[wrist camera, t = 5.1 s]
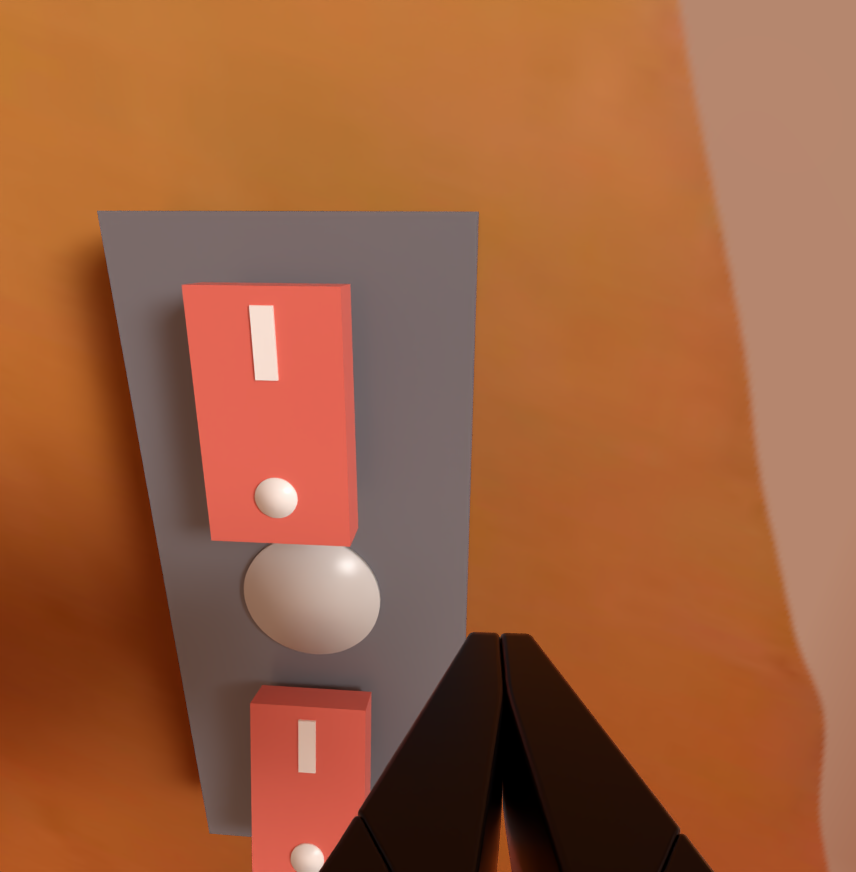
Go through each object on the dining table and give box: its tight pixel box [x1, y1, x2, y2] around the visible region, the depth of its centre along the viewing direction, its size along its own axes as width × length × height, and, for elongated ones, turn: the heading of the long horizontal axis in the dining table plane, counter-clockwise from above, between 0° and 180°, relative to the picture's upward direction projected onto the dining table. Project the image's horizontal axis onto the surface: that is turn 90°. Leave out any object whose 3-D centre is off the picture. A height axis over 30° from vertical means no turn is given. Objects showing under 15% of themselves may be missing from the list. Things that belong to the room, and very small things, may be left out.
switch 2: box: [250, 685, 372, 872], centre depth 18 cm, size 6×3×1 cm, turn 179°
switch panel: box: [97, 211, 479, 837], centre depth 19 cm, size 25×9×4 cm, turn 0°
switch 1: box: [182, 282, 358, 547], centre depth 14 cm, size 6×3×1 cm, turn 0°
